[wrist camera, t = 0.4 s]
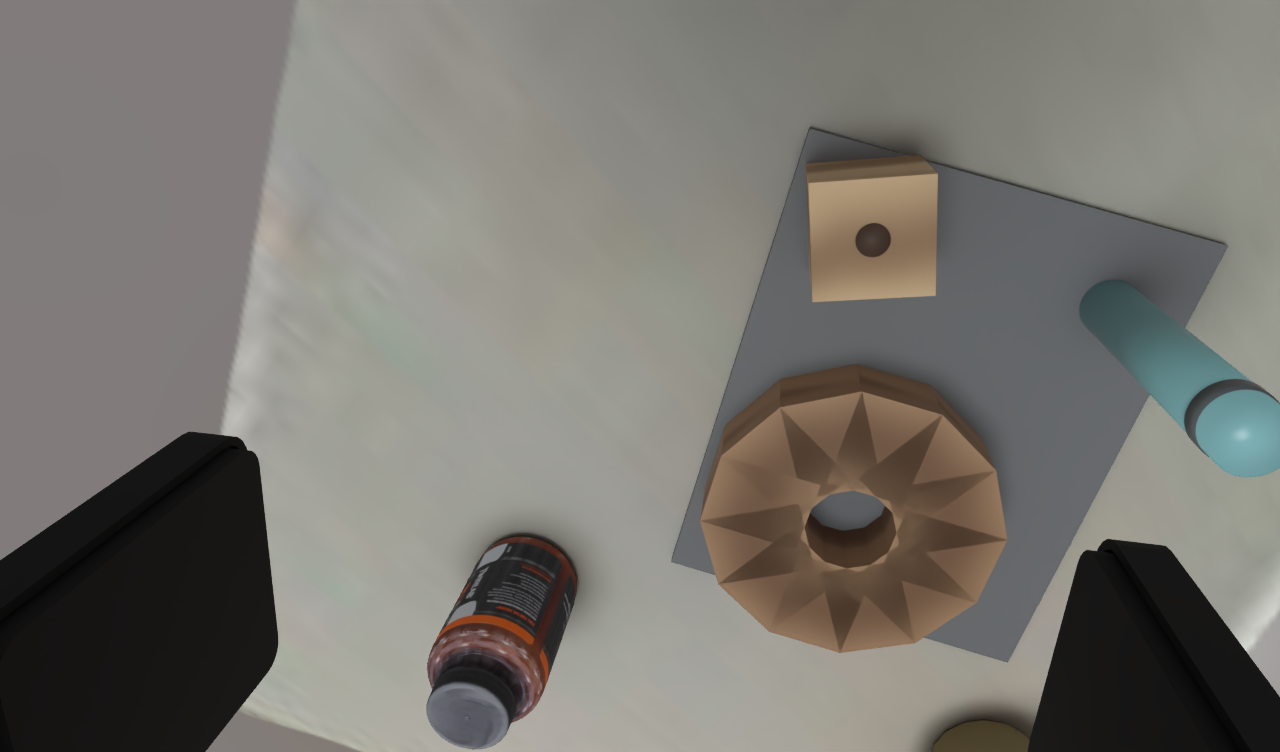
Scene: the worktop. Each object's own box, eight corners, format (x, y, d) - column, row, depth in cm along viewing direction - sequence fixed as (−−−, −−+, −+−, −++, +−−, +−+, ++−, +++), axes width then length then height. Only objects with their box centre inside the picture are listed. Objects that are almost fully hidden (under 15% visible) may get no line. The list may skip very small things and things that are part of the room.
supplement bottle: (471, 531, 52) (393, 662, 42) (573, 531, 51) (520, 665, 41) (486, 618, 54) (417, 764, 44) (585, 620, 53) (537, 769, 43)
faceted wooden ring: (754, 334, 45) (752, 359, 41) (1033, 415, 44) (1053, 447, 41) (680, 564, 50) (673, 602, 47) (927, 638, 50) (937, 681, 47)
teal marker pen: (1093, 271, 41) (1234, 391, 28) (1152, 288, 41) (1319, 415, 28) (1068, 325, 42) (1192, 464, 30) (1124, 342, 42) (1274, 488, 29)
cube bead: (805, 163, 41) (808, 183, 37) (920, 154, 40) (938, 173, 36) (809, 270, 43) (812, 302, 38) (918, 264, 42) (935, 296, 38)
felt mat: (809, 127, 41) (809, 128, 41) (1224, 243, 40) (1228, 246, 40) (672, 557, 51) (671, 561, 50) (1006, 657, 50) (1007, 662, 50)
